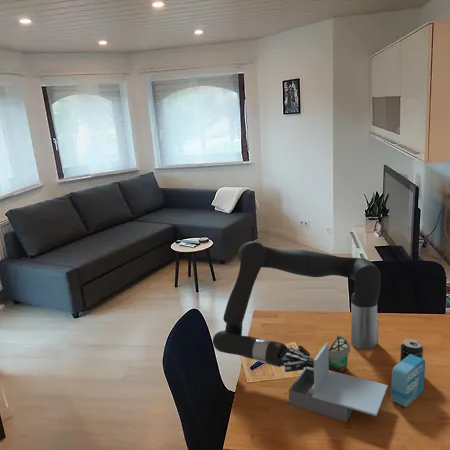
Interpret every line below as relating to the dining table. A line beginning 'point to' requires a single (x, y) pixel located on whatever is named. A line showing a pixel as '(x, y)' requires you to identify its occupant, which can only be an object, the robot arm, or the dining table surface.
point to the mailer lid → (345, 387)
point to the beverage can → (411, 348)
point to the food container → (339, 355)
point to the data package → (408, 380)
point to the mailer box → (303, 398)
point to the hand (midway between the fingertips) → (320, 365)
